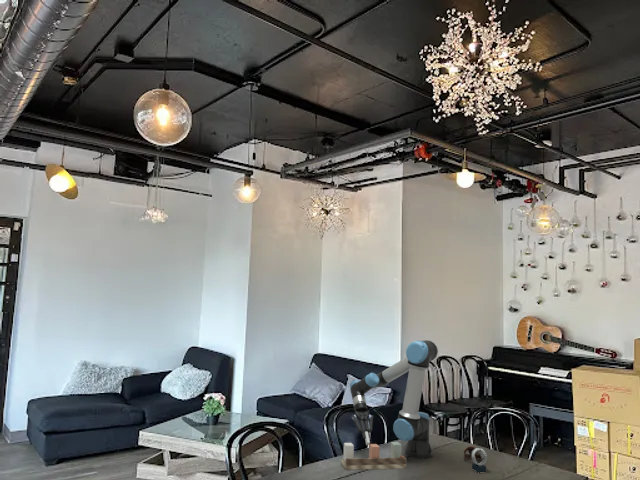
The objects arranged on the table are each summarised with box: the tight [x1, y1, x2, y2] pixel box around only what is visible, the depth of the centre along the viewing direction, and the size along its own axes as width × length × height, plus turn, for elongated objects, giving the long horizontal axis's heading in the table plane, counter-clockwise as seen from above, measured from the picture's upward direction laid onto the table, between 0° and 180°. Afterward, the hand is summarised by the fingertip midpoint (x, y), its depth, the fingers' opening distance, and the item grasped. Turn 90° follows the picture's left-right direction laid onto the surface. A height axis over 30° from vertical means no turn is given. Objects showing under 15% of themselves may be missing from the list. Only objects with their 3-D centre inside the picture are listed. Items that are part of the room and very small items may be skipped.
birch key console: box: [340, 454, 407, 471], centre depth 245 cm, size 32×10×6 cm, turn 101°
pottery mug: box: [463, 446, 483, 461], centre depth 261 cm, size 12×10×8 cm
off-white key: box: [343, 442, 355, 462], centre depth 245 cm, size 4×5×8 cm
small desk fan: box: [471, 447, 488, 474], centre depth 243 cm, size 6×8×11 cm
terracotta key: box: [368, 443, 381, 458], centre depth 244 cm, size 4×5×8 cm
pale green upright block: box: [390, 441, 402, 458], centre depth 250 cm, size 4×5×8 cm
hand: (368, 443), depth 256 cm, fingers closed
